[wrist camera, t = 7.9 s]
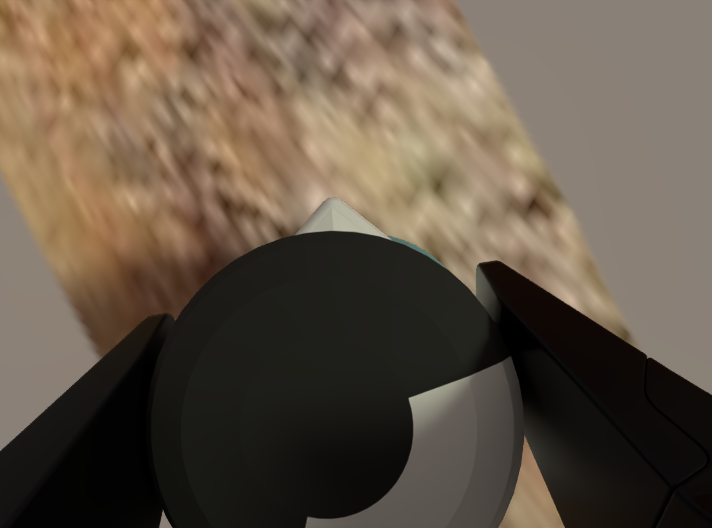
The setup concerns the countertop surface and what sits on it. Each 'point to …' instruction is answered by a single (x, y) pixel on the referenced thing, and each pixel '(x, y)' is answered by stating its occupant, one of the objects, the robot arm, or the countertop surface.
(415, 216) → the countertop surface
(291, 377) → the medicine bottle
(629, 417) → the robot arm
